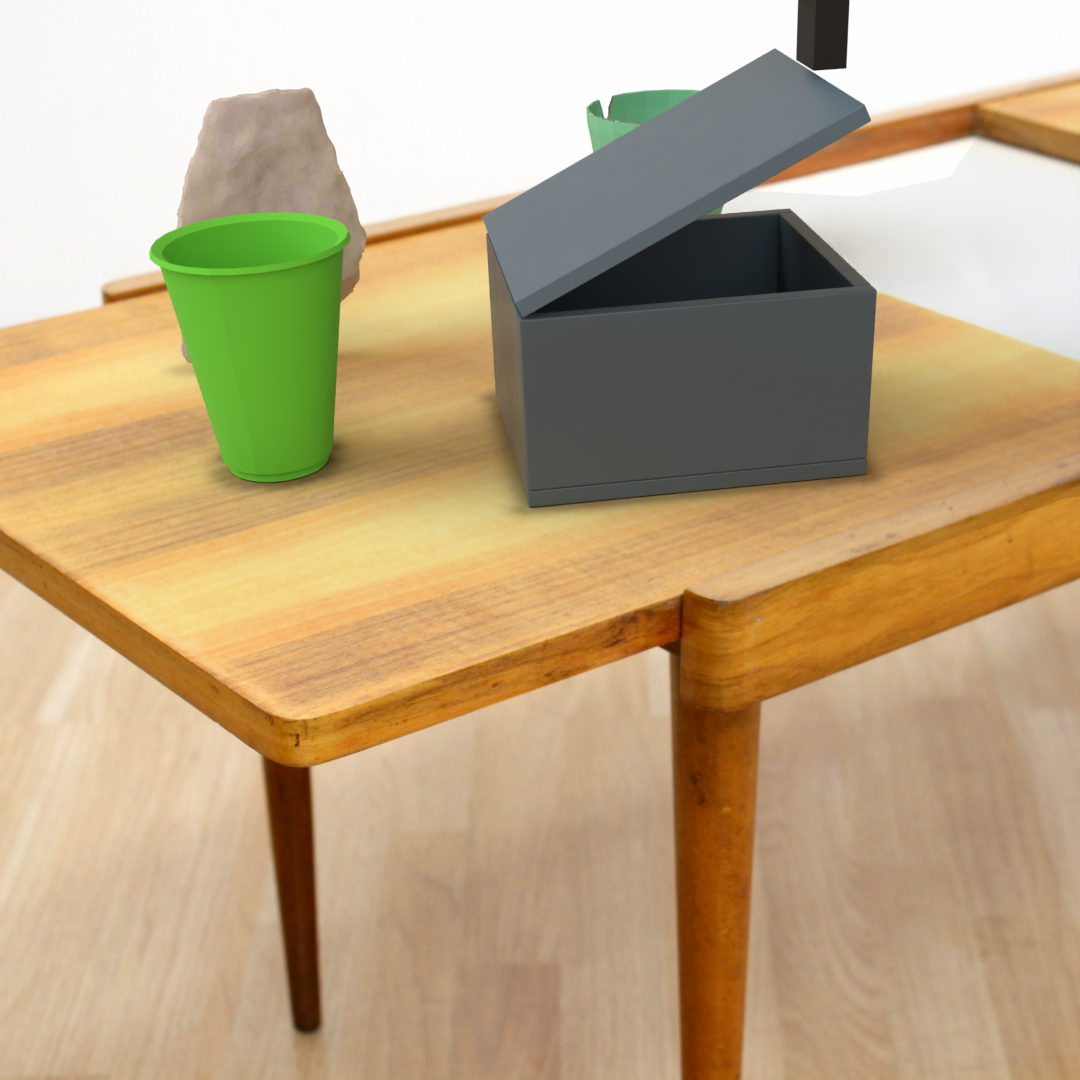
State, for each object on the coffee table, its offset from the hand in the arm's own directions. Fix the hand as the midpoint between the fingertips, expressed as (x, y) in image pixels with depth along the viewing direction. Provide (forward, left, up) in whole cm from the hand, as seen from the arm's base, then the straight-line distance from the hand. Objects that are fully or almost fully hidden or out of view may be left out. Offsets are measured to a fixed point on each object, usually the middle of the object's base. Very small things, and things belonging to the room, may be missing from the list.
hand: (820, 63), depth 69 cm
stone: (+26, -15, -17) cm, 35 cm away
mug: (+2, -25, -17) cm, 31 cm away
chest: (+7, 0, -17) cm, 19 cm away
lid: (+7, 0, -5) cm, 9 cm away
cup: (+26, -1, -17) cm, 31 cm away
